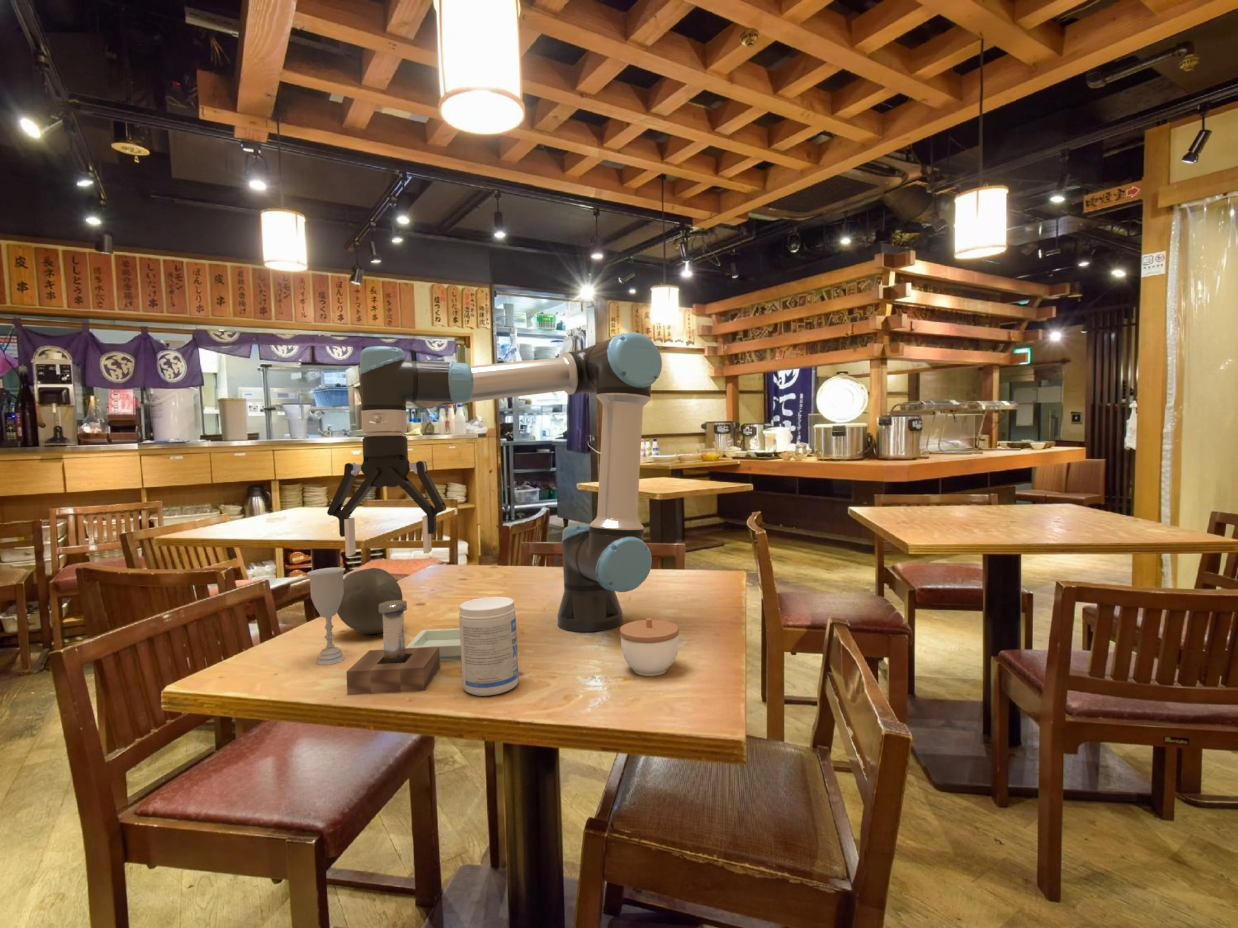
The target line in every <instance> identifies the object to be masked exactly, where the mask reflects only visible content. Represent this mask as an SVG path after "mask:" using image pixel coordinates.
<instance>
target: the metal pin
mask: <svg viewBox="0 0 1238 928" xmlns="http://www.w3.org/2000/svg"><path fill="white" fill-rule="evenodd" d="M378 607H379V613H382V615H383V632H382V635H383V650H384V660H385V664H389V663H405V662H406V652H405V647H406V637H405V635H406V634H405V632H406V631H405V611H406V610H408V602H407V601H406V600H404V599H402V600H394V601H387V602H383V603H380V604H379V605H378Z"/></svg>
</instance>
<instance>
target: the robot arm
mask: <svg viewBox="0 0 1238 928" xmlns="http://www.w3.org/2000/svg"><path fill="white" fill-rule="evenodd" d="M662 367H663V360H662V355H661V353H660V350H659V349H658V347H657V345H655V343H654V341H653V340H652V339H651V338H649V337H648V336H647V335H645V334H642V333H640V332H639V333H638V332H635V331H634V332H633V331H632V332H627V333H619V334H616V335H615V336H614V337H611V338H609V339H606V340H604V341H601V342H600V341H599V342H598V343H596V344H593V345H590V346H588V347H586V348H583V349H579V350H575V351H574V350H573V351H564V352H563V353H562V354H561V356H560V357H552V358H541V359H539V358H538V359H531V360H529V359H528V360H520V361H519V360H518V361H509V362H499V363H498V362H497V363H489V364H488V363H487V364H480V365H479V364H477V365H469V364H468V363H465V362H456V361H453V360H452V361H429V360H427V361H425V360H420V361H419V360H418V361H417V360H410V359H406V356H405V352H404V350H403V349H401V348H400V347H397V346H396V347H395V346H393V347H392V346H385V345H383V346H381V345H379V346H377V345H376V346H375V345H374V346H368V347H365V348H364V349H362V351H360V354H359V375H358V376H359V387H360V405H361V408H360V409H361V412H360V413H361V431H362V433H363V434H365V436H363V438H361V439H362V440H361V441H362V457H363V460H362V463H361V464H360V463H355V462H347V463H345V464H344V470H343V471H344V472H343V476H342V479H341V480H340V482H339V483H340V484H339V485H338V487H337V490H336V492H335V494H334V495H333V499H332V500H331V503H330V505H329V507H328V509H327V512H326V513H327V515H328V516H331V517H335V518H337V519H338V526H339V527H338V528H339V529H338V531H339V537H341V538H344V545H345V547H344V548H345V549H344V550H345V551H344V552H345V557H351V556H353V555H355V554H356V553H357V551H356V549H357V547H356V529H355V528H356V527H355V526H356V525H355V520H356V519H355V517H351V515H352V513H354V511H355V510H356V509H357V508H358V506H359V505H360V504H361V503H362V501H363V500H364V499H365V497H366V496H367V495H368V494H369V493H370V492H371V491H372V489H374V488H377V489H378V488H384V487H386V488H387V487H388V488H397V487H398V486H399V487H400V489H402V490H404V492H405V493H406V494H407V495H408V496H409V497H410V498H411V499H412V500H413V501H414V503H415V504H417V506H418V507H419V508H420V509H421V510H422V512H424V513H425V514H426V515H424V516H422V517H421V519H422V521H421V523H422V541H423V542H422V543H423V544H422V545H423V548H422V549H423V554H429V553H431V552H432V551H433V550H432V534H433V535H434V534H436V533H437V531H438V530H437V529H438V527H437V515H438V514H440V513H442V512H445V511H446V510H447V505H446V503H445V501H444V500H443V498H442V495H440V493H439V490H438V488H437V487H436V485H435V483H434V481H433V480H432V477H431V476H430V474H429V471H428V464H427V462H426V461H425V460H418V461H415V462H410V461H409V450H408V448H409V447H408V438H407V436H406V435H405V434H406V433H407V432H408V427H407V426H408V424H407V422H408V420H407V402H408V403H409V402H410V403H411V404H412V405H413V406H415V407H417V408H419V409H425V410H426V409H427V410H428V409H430V410H431V409H433V408H435V407H443V406H451V405H452V406H453V405H456V404H465V403H474V402H482V401H490V400H491V401H492V400H499V399H509V398H515V397H524V396H532V395H533V396H534V395H541V394H548V393H549V394H550V393H558V392H565V393H566V394H567V395H578V394H596V398H597V400H598V401H599V402H600V403H601V404H602V416H601V417H602V420H601V434H600V436H601V437H600V438H601V439H600V457H599V473H598V474H599V477H598V495H597V497H598V498H597V512H596V518H595V519H594V520H592V521H591V522H590V523H589V524H582V525H572V526H566V527H565V528H564V529H563V530H562V534H561V536H562V539H561V545H562V546H561V547H562V548H561V549H562V567H563V568H562V570H563V573H562V574H563V594H562V598H561V602H560V605H559V608H558V613H557V625H558V627H559V628H560V629H563V630H567V631H571V632H583V633H584V632H587V633H588V632H600V631H605V630H606V631H607V630H609V629H614V628H616V627H619V626H621V624H623V618H624V617H623V615H624V614H623V609H622V607H621V605H620V602H619V599H618V594H617V593H627V592H631V591H634V590H635V589H637V588H639V587H640V586H641V585H642V583H644V582H645V581H646V580H647V578H648V576H649V574H650V571H651V568H652V565H653V564H652V563H653V560H652V559H653V558H652V552H651V550H650V548H649V547H648V545H647V544H646V542H644V532H645V527H644V525H643V523H641V522H640V521H639V519H638V510H639V508H638V507H639V491H640V488H639V487H640V473H641V472H640V471H641V455H642V454H641V452H642V451H641V450H642V447H641V446H642V431H643V415H644V414H643V413H644V411H643V410H644V407H645V405H646V404H647V403H648V402H650V401H651V397H652V396H651V394H652V385H653V384H654V383H655V382H656V381H657V379H658V378H659V377H660V374H661V373H662ZM411 470H412V471H413V473H414V474H416V475H417V476H418V478H419V480H420V482H421V484H422V487H424V490H425V492H426V493H427V495H428V497H429V498H430V501H431V502H432V503H430V501H429V500H428V499H427V498H426V497H425V495H424V494H422V492H420V490H419V489H418V488H417V487H416V486H415V485H414V484H413V482H412V481H411V479H410V478H408V477H407V476H408V474H409V473H410V472H411ZM360 472H362V474H363V475H364V476H365V479H364V480H363V481H362V482H361V484H360V486H359V488H358V489H357V490H356V491H355V492H354V494H353V495H352V496H351V498H350V499H349V500H348V501H347V502H346V498H347V497H348V495H349V493H350V491H351V488H352V485H353V483H354V482H355V479H356V476H358V475H359V474H360ZM345 502H346V504H345ZM343 505H344V506H343Z"/></svg>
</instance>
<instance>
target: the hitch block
mask: <svg viewBox="0 0 1238 928" xmlns="http://www.w3.org/2000/svg"><path fill="white" fill-rule="evenodd" d="M405 652H406V662H405V663H389V664H385V660H384V649H372V650H371V649H370V650H368V651H367V652H366V653H365V654H364V655H363V656H362V657H360V658H359V659H358V661H356V662H355V663H354V664H353V665H351V666H350V668H348V669H347V670H346V672H345V673H346V674H345V675H346V693H347V696H348V694H349V695H364V694H363V693H369V694H384V693H387V694H388V693H401V692H404V693H405V692H407V693H409V692H422V691H423V690H424V691H425V690H426V689H427V688H428V686H429V685H430V683H431V682H432V680H433V679H434V677H435V676H436V675H437V673H438V672H439V671H440V669H441V662H440V655H439V647H428V648H407V649H405ZM437 671H438V672H437ZM426 687H427V688H426ZM421 690H422V691H421ZM424 691H423V692H424ZM361 693H362V694H361Z"/></svg>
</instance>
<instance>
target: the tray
mask: <svg viewBox="0 0 1238 928" xmlns="http://www.w3.org/2000/svg"><path fill="white" fill-rule="evenodd" d="M428 647H439V655H440V663H442V662H458V661H459V662H460V661H461V642H460V627H457V628H456V627H455V628H453V627H452V628H438V629H436V628H434V629H421V630H420V631H419V632H418V634H416V635H415V637H413V639H412V640H411V641H410V642H409V643H408V644H407V645H405V649H407V648H428ZM461 662H462V661H461Z"/></svg>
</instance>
